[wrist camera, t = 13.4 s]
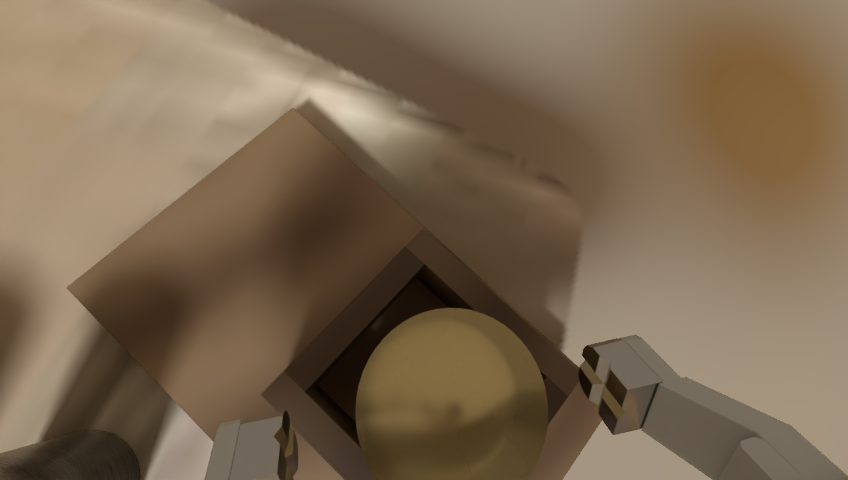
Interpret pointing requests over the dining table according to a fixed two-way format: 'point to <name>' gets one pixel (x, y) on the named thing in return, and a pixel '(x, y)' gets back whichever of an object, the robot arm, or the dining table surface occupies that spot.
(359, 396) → the translucent yellow cylinder
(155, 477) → the dining table surface
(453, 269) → the socket board
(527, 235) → the dining table surface
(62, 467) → the dark steel roller
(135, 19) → the dining table surface
